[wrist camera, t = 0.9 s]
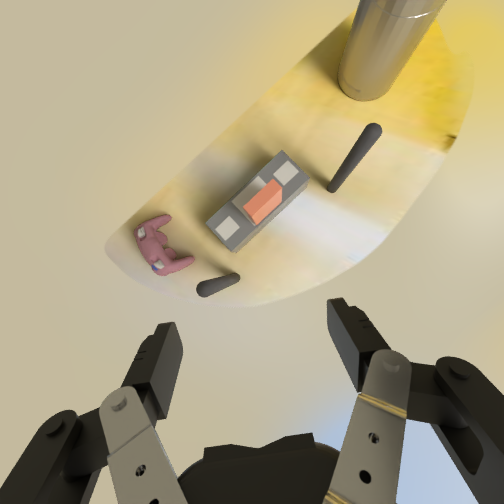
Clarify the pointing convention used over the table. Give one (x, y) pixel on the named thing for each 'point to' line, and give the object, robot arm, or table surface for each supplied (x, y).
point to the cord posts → (350, 162)
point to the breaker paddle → (264, 202)
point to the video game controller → (158, 247)
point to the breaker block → (232, 213)
